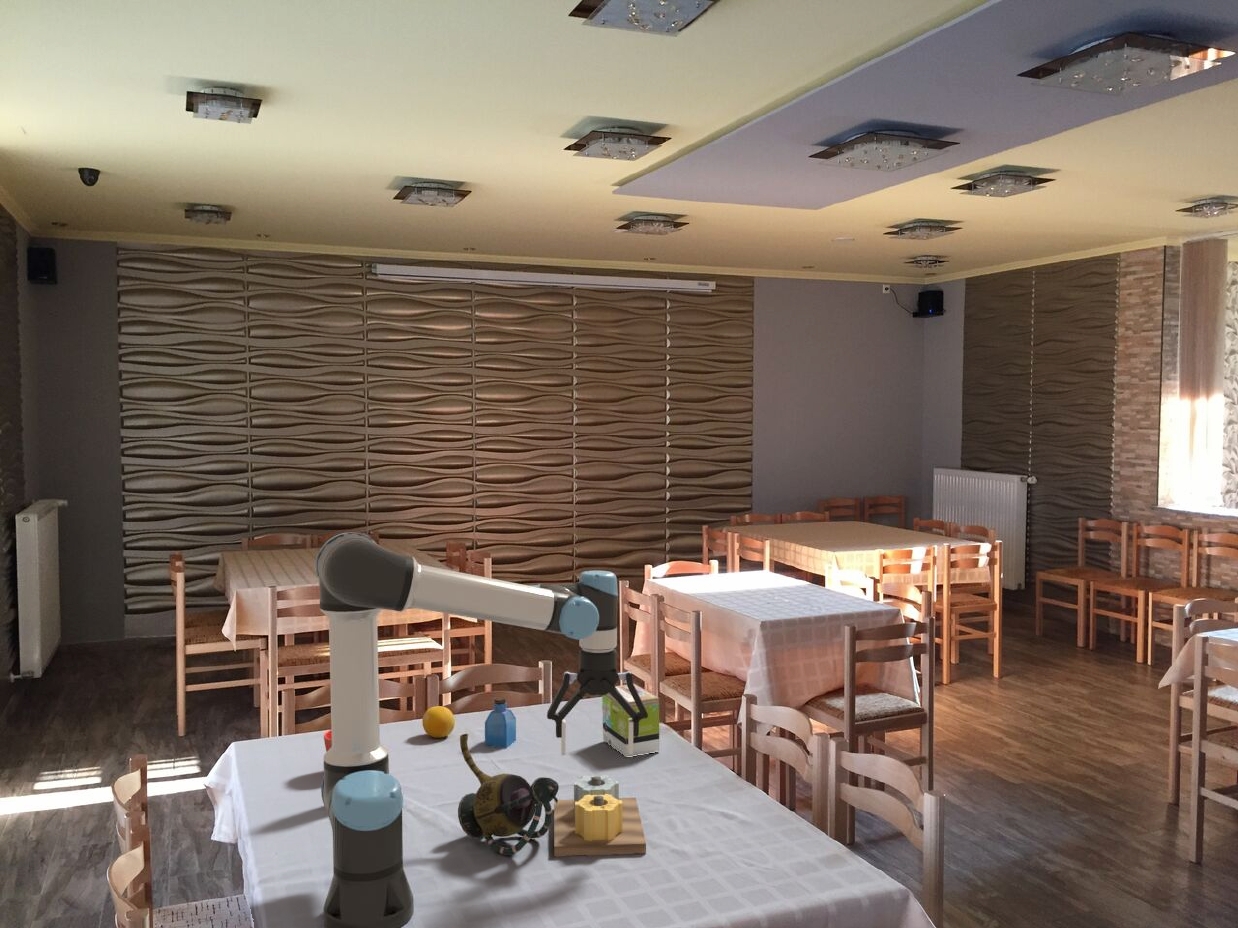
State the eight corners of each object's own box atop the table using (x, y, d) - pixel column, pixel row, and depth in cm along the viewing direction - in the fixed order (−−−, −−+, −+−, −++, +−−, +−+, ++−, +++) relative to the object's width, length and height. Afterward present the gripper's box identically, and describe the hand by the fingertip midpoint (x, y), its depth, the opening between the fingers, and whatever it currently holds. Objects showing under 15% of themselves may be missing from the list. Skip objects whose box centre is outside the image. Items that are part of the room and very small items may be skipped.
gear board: (646, 853, 197) (645, 808, 197) (554, 856, 196) (554, 811, 196) (635, 806, 221) (635, 766, 221) (554, 808, 220) (553, 768, 220)
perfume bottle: (484, 745, 263) (484, 700, 262) (494, 738, 269) (494, 694, 268) (506, 747, 261) (506, 702, 261) (516, 740, 267) (515, 696, 266)
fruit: (461, 735, 272) (460, 705, 271) (440, 743, 265) (440, 713, 265) (436, 729, 277) (436, 701, 276) (416, 737, 270) (415, 708, 269)
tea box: (601, 741, 266) (600, 686, 265) (635, 736, 270) (635, 682, 269) (625, 759, 252) (625, 701, 252) (660, 753, 257) (660, 696, 256)
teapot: (471, 869, 199) (558, 840, 188) (426, 749, 204) (509, 714, 193) (507, 847, 210) (592, 818, 199) (464, 733, 214) (545, 699, 203)
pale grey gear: (626, 812, 213) (626, 784, 212) (590, 822, 208) (590, 793, 207) (602, 798, 220) (601, 771, 220) (566, 807, 215) (566, 780, 215)
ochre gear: (620, 821, 208) (620, 793, 208) (623, 839, 199) (623, 810, 199) (574, 823, 207) (574, 794, 207) (575, 841, 198) (575, 811, 198)
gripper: (657, 643, 206) (656, 745, 207) (536, 644, 204) (535, 747, 205) (661, 652, 198) (660, 757, 199) (535, 652, 197) (534, 759, 198)
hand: (597, 752), depth 202 cm, fingers open, 13 cm apart
